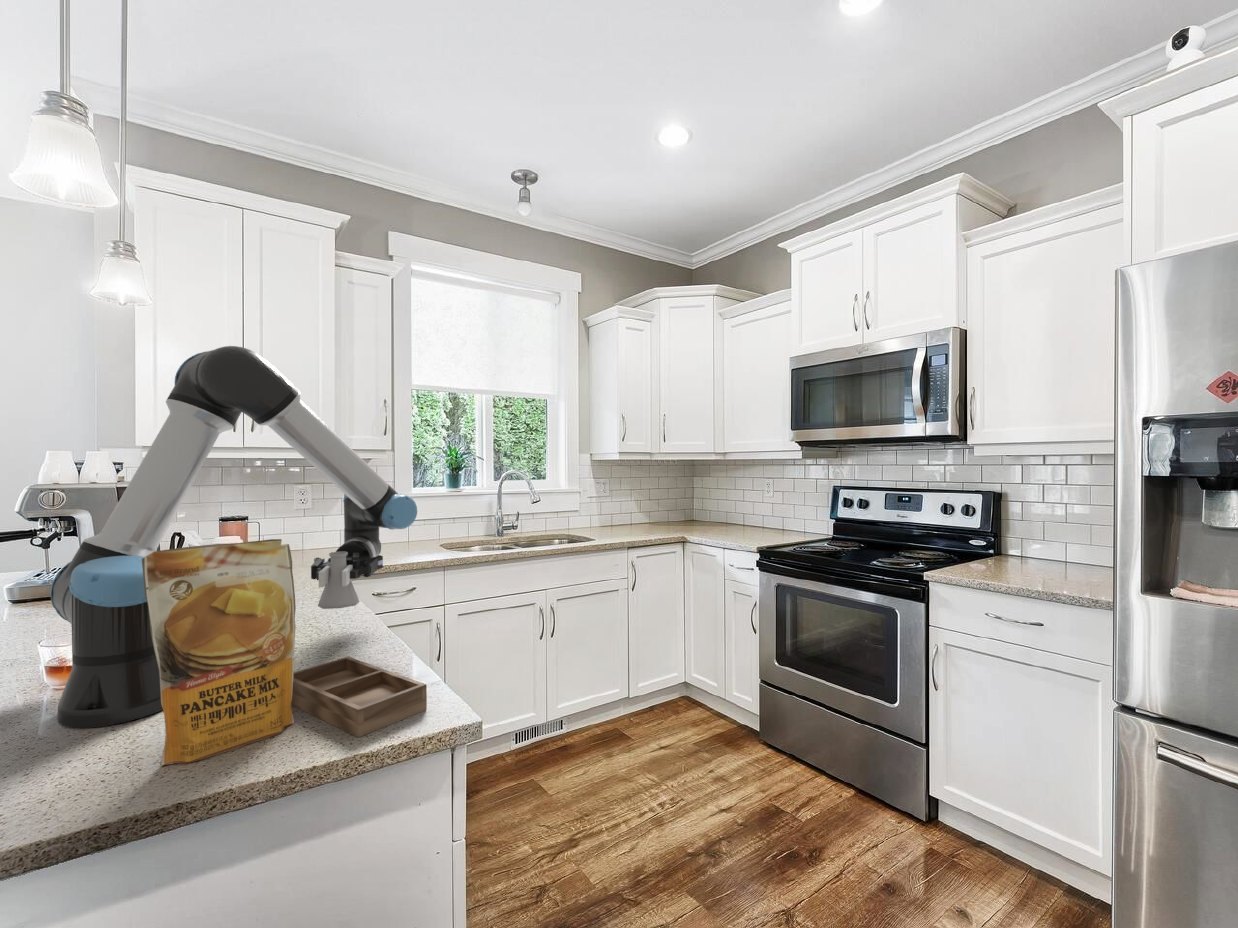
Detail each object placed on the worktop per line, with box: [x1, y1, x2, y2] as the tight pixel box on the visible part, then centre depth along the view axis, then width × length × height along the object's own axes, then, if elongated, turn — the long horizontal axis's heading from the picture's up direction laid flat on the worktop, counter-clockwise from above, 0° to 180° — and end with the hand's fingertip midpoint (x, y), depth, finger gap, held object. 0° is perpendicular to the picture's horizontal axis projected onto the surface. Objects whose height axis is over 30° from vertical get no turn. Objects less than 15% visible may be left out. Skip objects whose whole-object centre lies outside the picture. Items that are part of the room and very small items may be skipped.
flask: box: [317, 551, 360, 610], centre depth 114 cm, size 7×7×10 cm
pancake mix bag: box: [142, 538, 297, 767], centre depth 85 cm, size 7×19×28 cm, turn 140°
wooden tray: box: [291, 656, 428, 738], centre depth 98 cm, size 22×12×4 cm, turn 55°
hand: (332, 579), depth 109 cm, fingers closed on flask, 3 cm apart
